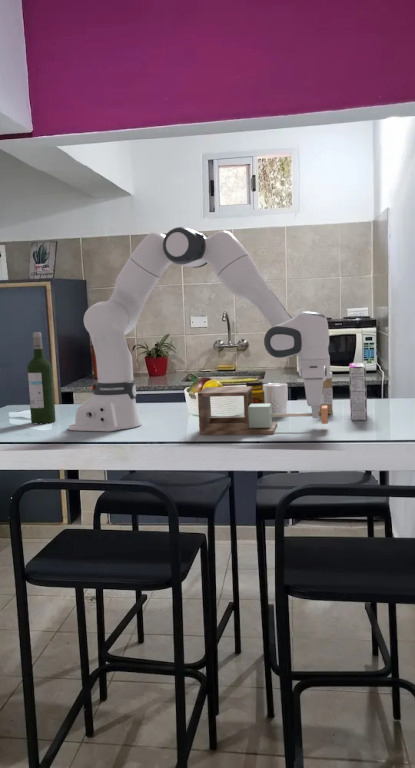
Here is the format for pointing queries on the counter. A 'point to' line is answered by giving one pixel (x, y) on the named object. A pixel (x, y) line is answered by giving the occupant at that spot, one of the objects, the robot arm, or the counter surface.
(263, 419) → the mallet
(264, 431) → the shelf
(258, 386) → the condiment
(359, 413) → the candy bar box
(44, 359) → the wine bottle
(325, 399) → the sprinkles bottle
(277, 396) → the white cup
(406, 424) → the counter surface
